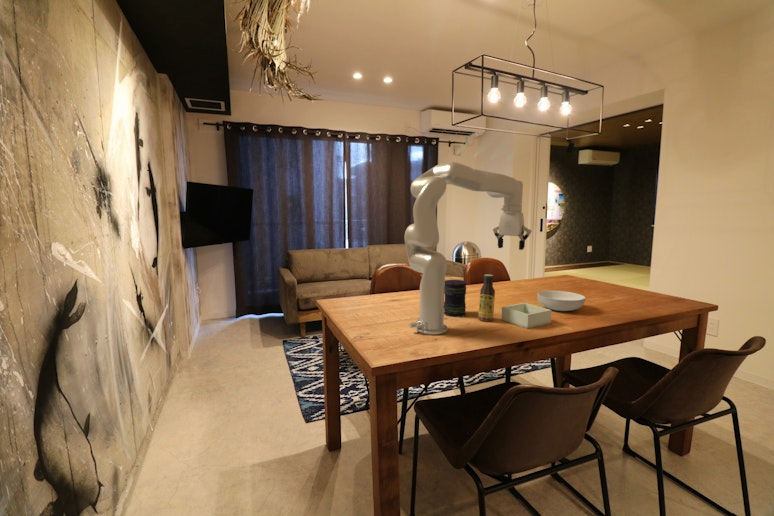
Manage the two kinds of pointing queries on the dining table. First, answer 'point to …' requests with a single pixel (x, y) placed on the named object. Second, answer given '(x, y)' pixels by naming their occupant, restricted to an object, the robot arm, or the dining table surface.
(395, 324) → the dining table surface
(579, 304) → the serving bowl
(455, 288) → the rusty oil drum
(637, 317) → the dining table surface
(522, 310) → the bin
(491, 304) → the sauce bottle
